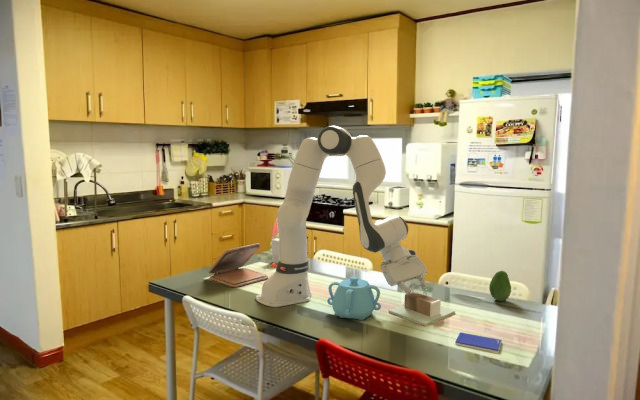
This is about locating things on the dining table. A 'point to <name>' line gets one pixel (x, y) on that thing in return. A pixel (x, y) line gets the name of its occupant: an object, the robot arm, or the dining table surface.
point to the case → (236, 267)
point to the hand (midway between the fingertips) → (417, 290)
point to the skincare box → (275, 250)
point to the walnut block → (422, 304)
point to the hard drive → (478, 342)
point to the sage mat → (420, 315)
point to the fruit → (500, 286)
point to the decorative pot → (353, 298)
